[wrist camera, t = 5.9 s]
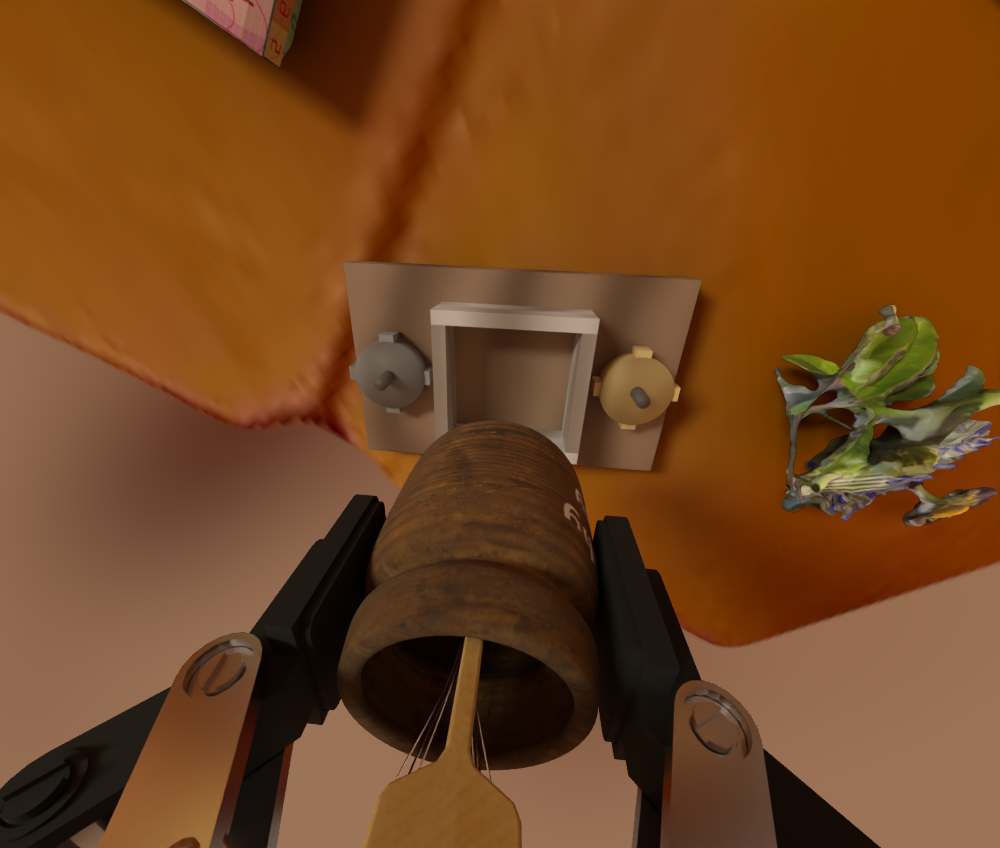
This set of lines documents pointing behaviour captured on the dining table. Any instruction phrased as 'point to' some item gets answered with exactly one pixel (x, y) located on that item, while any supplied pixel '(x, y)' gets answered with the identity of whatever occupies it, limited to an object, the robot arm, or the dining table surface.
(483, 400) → the gear board
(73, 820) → the robot arm
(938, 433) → the passion flower
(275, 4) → the puzzle game
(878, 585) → the dining table surface
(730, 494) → the dining table surface
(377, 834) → the utensil holder
